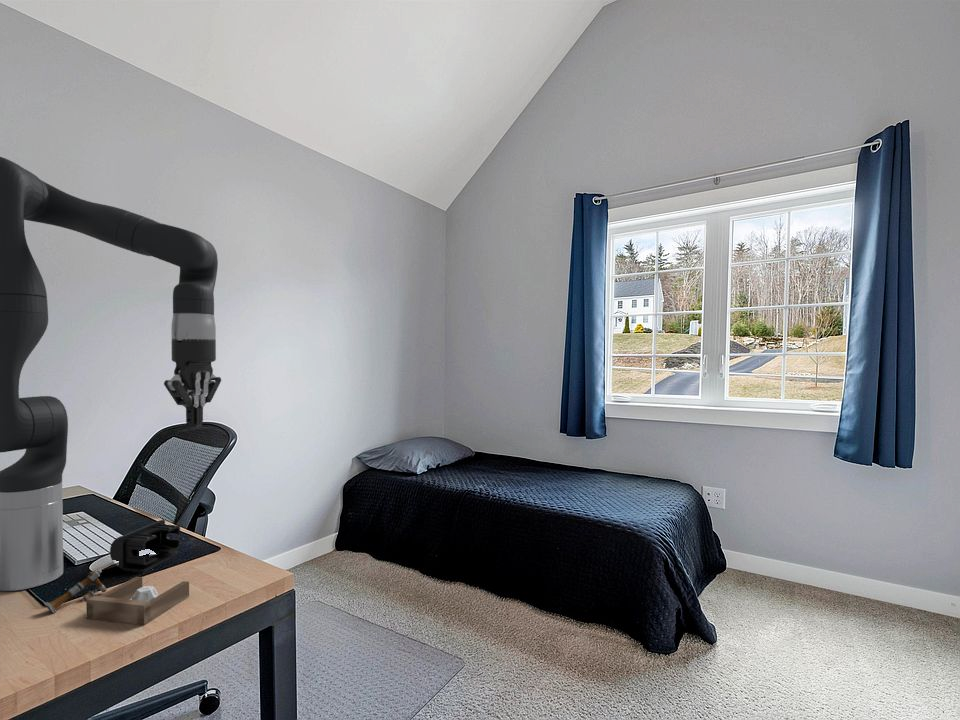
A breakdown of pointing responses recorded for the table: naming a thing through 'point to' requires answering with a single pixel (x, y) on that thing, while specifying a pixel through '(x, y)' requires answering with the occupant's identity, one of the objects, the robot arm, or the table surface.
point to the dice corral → (133, 603)
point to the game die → (145, 593)
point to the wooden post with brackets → (92, 576)
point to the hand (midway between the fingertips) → (194, 426)
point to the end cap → (145, 547)
